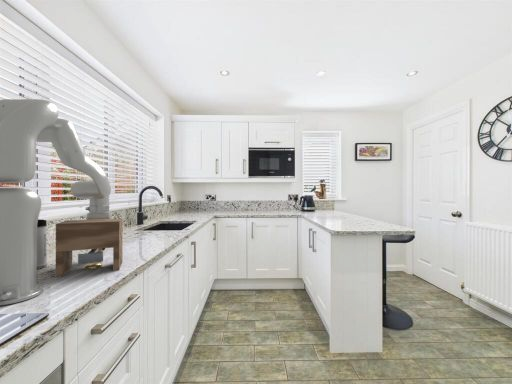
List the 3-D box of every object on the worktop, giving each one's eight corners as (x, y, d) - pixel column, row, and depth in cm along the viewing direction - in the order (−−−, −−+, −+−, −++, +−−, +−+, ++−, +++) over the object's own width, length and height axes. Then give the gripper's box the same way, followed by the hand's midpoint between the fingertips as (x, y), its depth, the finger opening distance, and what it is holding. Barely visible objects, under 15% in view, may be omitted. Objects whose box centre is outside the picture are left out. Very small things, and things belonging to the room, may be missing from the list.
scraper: (102, 261, 96) (102, 244, 96) (78, 264, 93) (78, 245, 93) (110, 250, 114) (110, 235, 114) (89, 252, 111) (89, 237, 111)
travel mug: (21, 269, 96) (21, 218, 97) (42, 264, 102) (42, 217, 102) (28, 271, 94) (28, 219, 94) (49, 266, 99) (49, 217, 99)
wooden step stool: (119, 270, 96) (119, 221, 96) (55, 276, 88) (55, 224, 88) (122, 261, 107) (122, 218, 107) (66, 267, 99) (66, 220, 99)
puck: (100, 269, 98) (100, 265, 98) (82, 270, 95) (82, 267, 95) (103, 265, 103) (103, 261, 103) (86, 266, 101) (86, 262, 101)
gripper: (75, 210, 104) (75, 253, 104) (119, 209, 110) (118, 250, 110) (79, 209, 111) (79, 250, 111) (120, 208, 117) (120, 247, 117)
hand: (99, 249), depth 110 cm, fingers closed on scraper, 3 cm apart
